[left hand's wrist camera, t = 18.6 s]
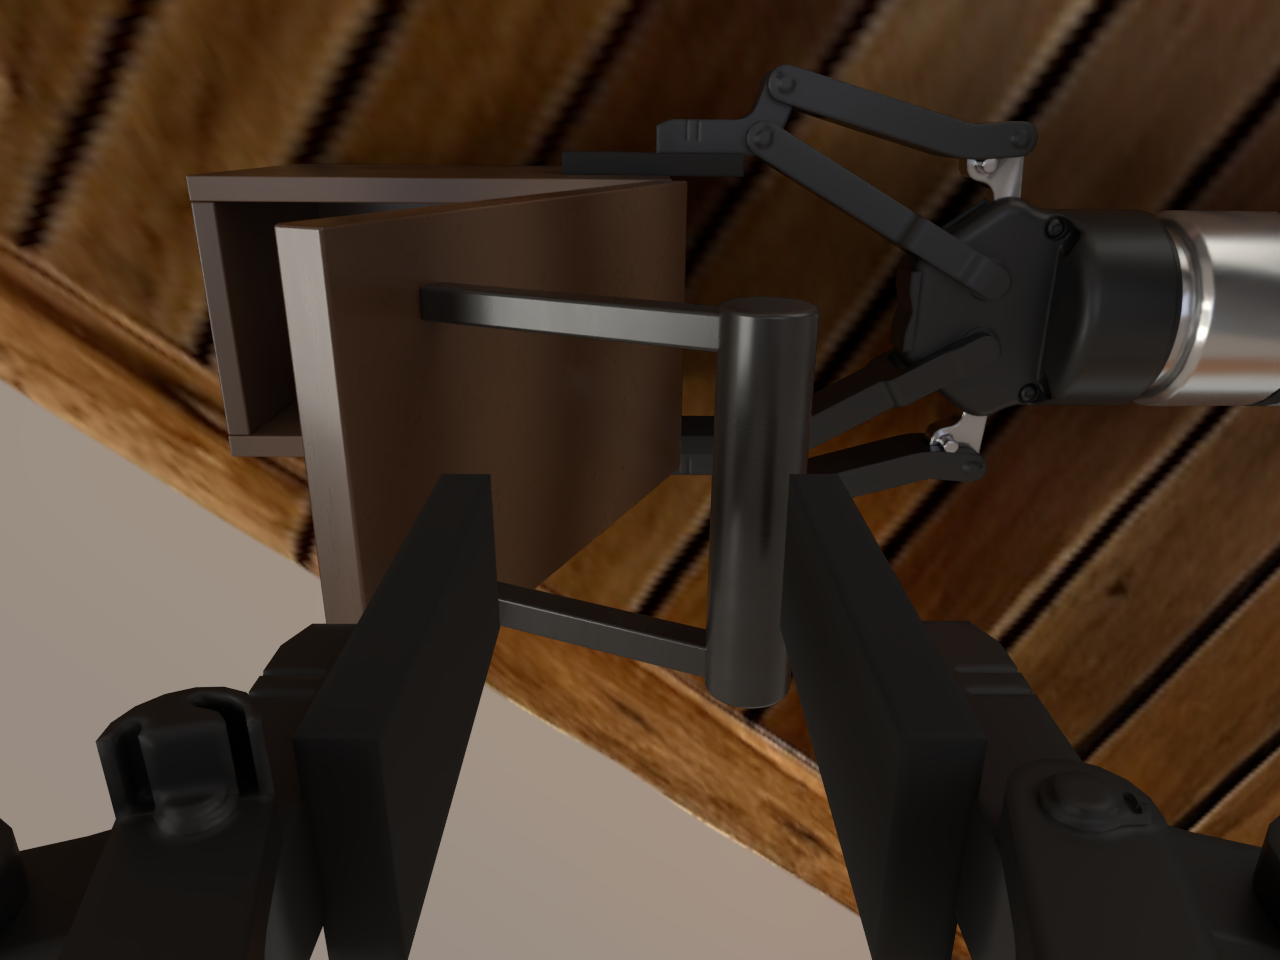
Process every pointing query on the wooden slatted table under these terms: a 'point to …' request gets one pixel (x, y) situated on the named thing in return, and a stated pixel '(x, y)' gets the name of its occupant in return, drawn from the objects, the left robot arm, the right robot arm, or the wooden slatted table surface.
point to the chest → (250, 275)
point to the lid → (546, 407)
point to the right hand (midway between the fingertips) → (567, 305)
